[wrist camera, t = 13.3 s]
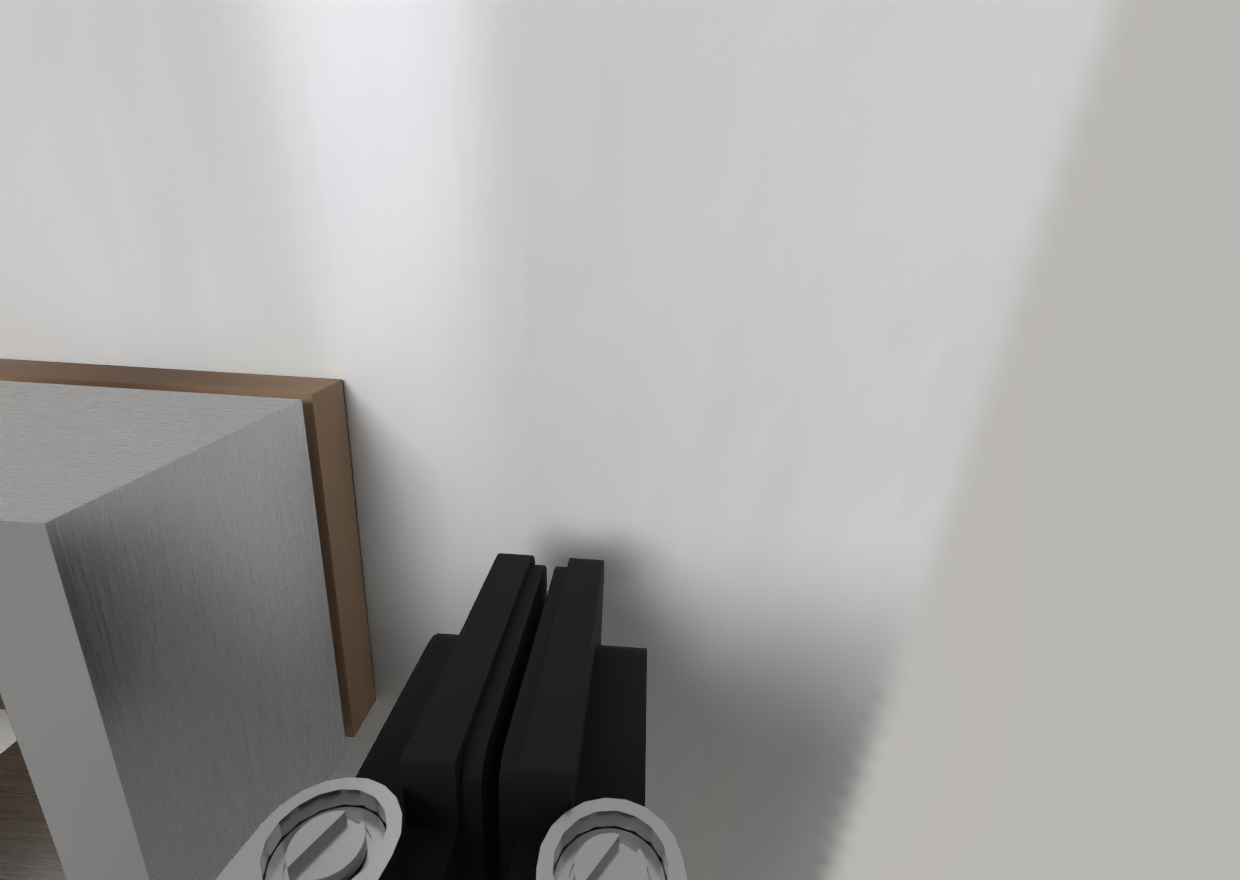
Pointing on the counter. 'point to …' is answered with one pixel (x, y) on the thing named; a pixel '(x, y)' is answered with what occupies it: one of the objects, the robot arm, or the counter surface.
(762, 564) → the counter surface
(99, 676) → the bracket
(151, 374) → the base board
